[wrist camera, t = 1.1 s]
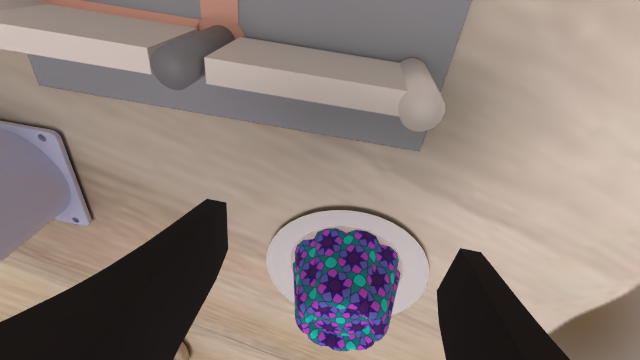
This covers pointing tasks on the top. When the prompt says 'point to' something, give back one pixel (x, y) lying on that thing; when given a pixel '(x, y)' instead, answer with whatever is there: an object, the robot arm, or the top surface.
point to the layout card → (286, 28)
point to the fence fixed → (110, 40)
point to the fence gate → (330, 79)
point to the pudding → (346, 276)
